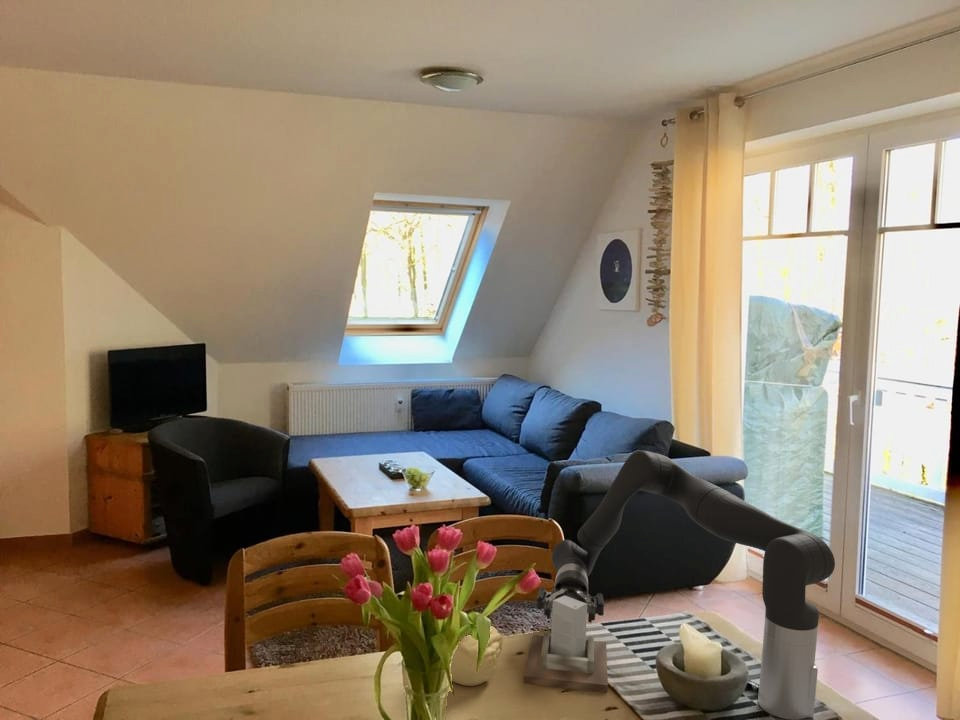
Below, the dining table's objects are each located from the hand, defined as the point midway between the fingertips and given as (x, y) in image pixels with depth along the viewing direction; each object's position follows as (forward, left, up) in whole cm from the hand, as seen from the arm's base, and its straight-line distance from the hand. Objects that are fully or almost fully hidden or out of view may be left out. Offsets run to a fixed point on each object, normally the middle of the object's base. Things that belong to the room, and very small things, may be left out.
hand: (569, 616), depth 161 cm
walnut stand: (0, +2, -10) cm, 10 cm away
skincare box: (0, +2, -8) cm, 9 cm away
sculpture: (+19, +11, -10) cm, 24 cm away
